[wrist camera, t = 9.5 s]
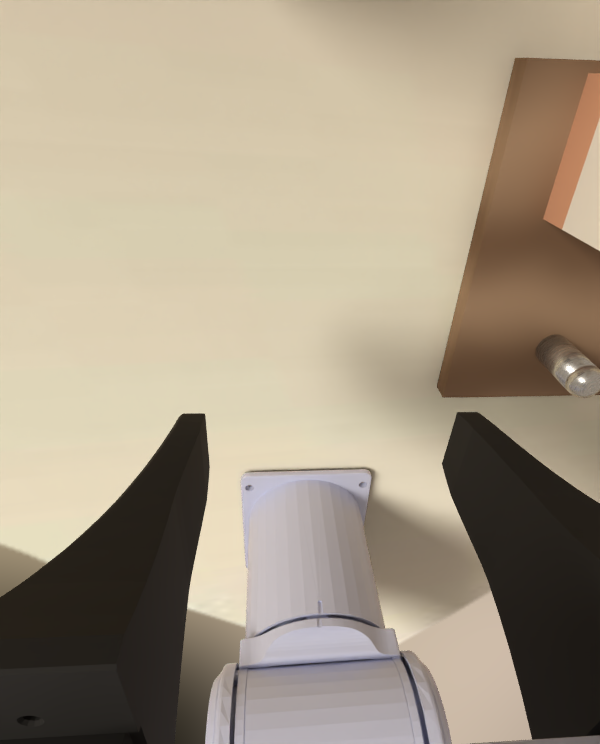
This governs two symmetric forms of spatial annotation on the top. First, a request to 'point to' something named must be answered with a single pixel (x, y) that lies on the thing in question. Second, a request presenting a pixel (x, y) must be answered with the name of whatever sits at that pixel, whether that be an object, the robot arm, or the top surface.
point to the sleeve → (580, 172)
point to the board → (524, 249)
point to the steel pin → (569, 366)
